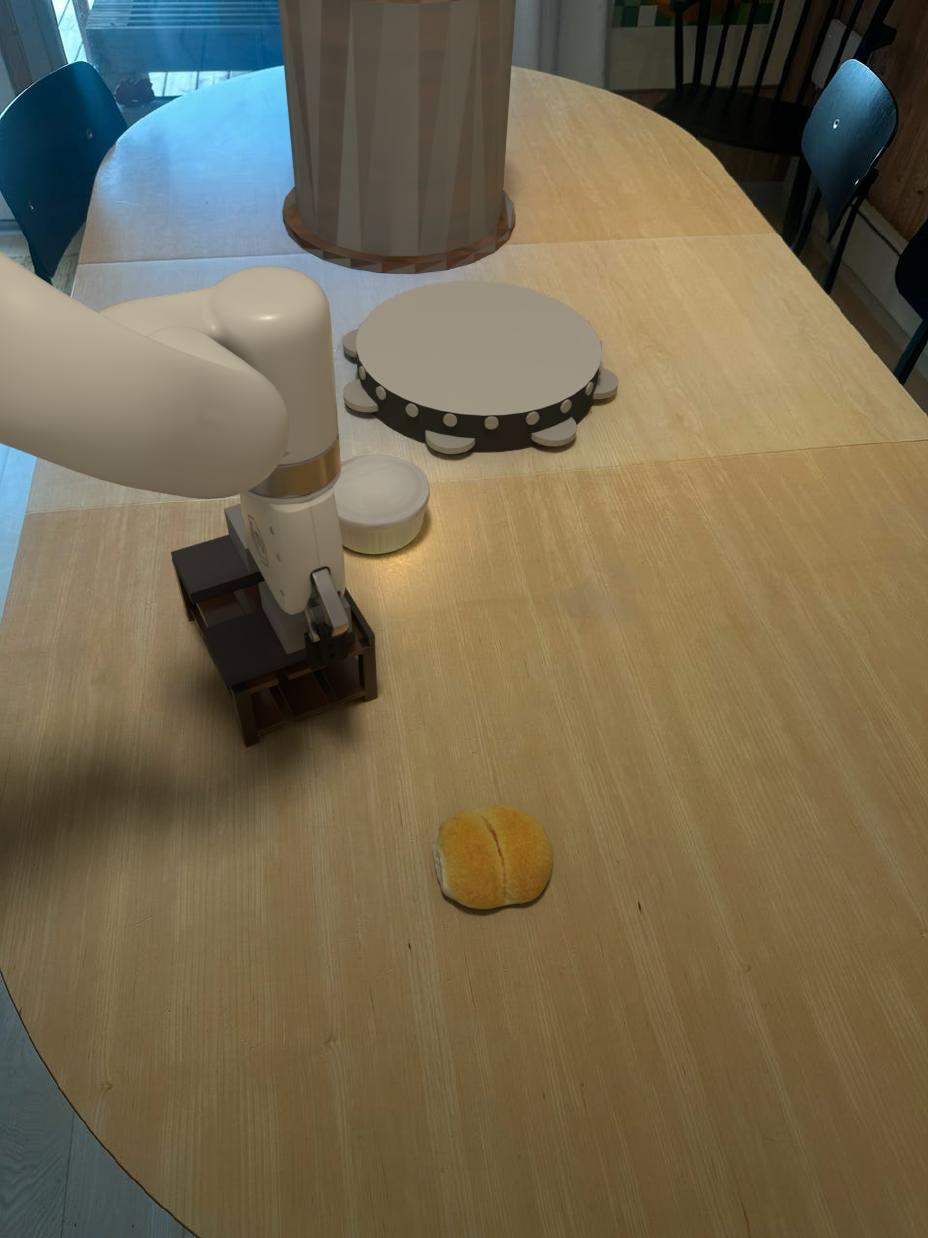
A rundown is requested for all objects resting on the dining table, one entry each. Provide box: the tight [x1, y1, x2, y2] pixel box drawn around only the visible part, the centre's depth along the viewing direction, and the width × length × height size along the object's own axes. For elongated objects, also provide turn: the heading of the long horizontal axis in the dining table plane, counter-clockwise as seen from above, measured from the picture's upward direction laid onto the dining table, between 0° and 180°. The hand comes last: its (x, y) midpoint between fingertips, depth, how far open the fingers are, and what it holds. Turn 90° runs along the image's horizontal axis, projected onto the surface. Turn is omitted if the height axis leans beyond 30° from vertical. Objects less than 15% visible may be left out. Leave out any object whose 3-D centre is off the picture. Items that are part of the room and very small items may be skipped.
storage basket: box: [277, 0, 517, 274], centre depth 135 cm, size 35×35×32 cm
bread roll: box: [432, 803, 554, 910], centre depth 73 cm, size 8×9×4 cm
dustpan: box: [201, 581, 355, 689], centre depth 78 cm, size 11×6×4 cm, turn 118°
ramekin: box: [333, 452, 431, 555], centre depth 98 cm, size 11×11×5 cm
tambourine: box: [342, 280, 619, 455], centre depth 116 cm, size 34×33×5 cm
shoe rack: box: [171, 558, 379, 748], centre depth 84 cm, size 12×17×8 cm
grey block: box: [170, 503, 264, 605], centre depth 83 cm, size 11×6×4 cm, turn 118°
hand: (305, 621), depth 79 cm, fingers open, 9 cm apart
